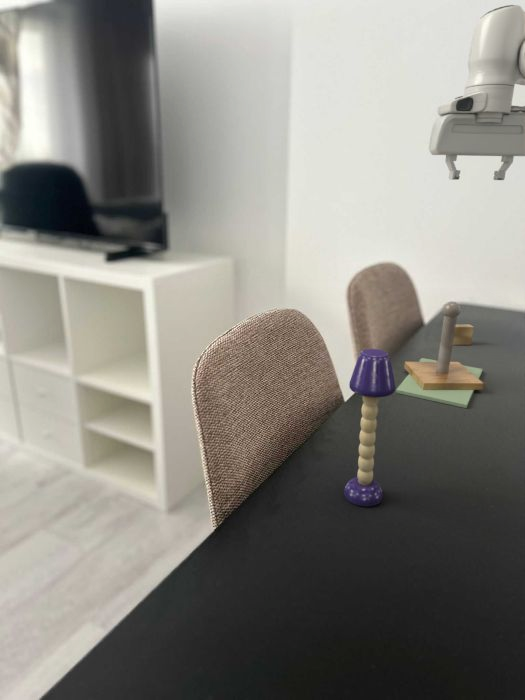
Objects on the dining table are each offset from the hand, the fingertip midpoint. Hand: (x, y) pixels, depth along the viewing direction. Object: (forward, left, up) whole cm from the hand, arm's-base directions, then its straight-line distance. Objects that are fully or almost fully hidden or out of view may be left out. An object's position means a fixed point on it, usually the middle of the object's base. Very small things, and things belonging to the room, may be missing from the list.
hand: (476, 179), depth 104 cm
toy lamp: (+36, +59, -33) cm, 76 cm away
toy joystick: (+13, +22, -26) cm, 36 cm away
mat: (+14, +27, -33) cm, 45 cm away
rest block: (+2, +6, -33) cm, 34 cm away
